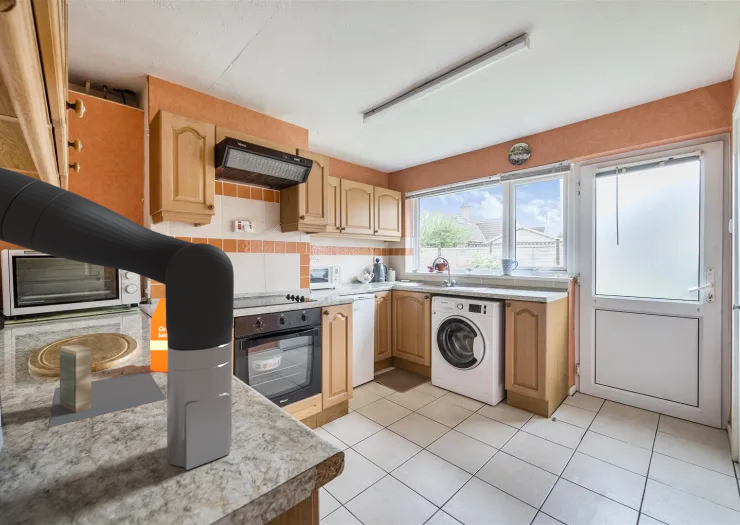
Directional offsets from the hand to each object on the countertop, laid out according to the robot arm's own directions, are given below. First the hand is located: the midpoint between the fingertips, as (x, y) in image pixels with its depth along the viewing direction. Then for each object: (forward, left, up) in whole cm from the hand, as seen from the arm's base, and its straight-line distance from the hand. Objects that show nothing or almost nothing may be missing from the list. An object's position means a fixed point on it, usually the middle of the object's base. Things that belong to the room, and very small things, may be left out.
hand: (2, 323), depth 56 cm
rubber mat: (+7, -15, -19) cm, 26 cm away
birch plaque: (+3, -9, -19) cm, 21 cm away
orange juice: (+21, -30, -20) cm, 42 cm away
